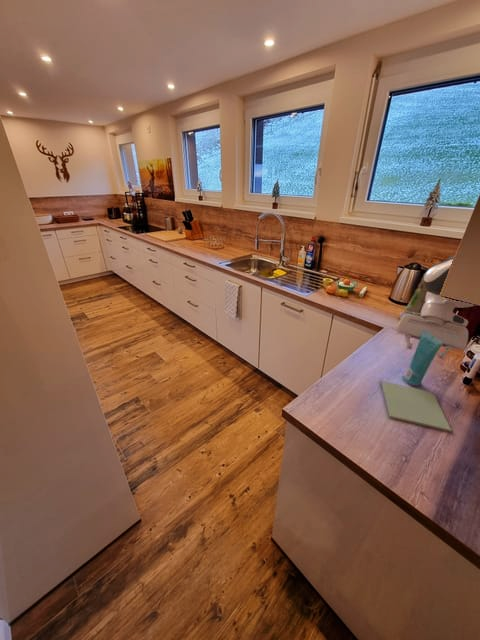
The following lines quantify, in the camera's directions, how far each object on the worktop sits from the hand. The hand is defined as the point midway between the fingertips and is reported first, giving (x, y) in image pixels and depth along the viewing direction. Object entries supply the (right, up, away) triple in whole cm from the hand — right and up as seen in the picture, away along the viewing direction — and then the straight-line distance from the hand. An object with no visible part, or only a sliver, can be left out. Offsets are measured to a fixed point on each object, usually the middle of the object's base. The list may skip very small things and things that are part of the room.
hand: (424, 353), depth 89 cm
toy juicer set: (+5, +29, +78) cm, 83 cm away
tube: (-1, -11, +5) cm, 12 cm away
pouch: (+25, +10, +46) cm, 54 cm away
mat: (-8, -16, -5) cm, 18 cm away
